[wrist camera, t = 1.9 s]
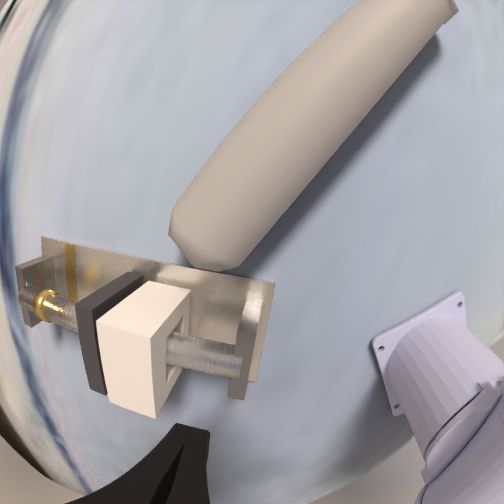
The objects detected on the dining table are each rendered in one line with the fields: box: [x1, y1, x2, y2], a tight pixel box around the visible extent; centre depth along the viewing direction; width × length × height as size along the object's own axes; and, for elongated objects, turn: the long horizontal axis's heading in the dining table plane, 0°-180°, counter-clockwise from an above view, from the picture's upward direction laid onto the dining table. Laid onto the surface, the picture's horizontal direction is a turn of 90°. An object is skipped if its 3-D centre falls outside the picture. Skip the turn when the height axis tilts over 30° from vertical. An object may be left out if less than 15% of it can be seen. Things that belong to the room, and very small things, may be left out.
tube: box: [168, 0, 459, 272], centre depth 12 cm, size 5×5×25 cm
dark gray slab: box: [75, 271, 143, 396], centre depth 16 cm, size 1×6×6 cm, turn 172°
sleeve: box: [96, 281, 191, 419], centre depth 15 cm, size 3×6×6 cm, turn 172°
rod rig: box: [15, 236, 275, 400], centre depth 17 cm, size 20×8×5 cm, turn 82°
